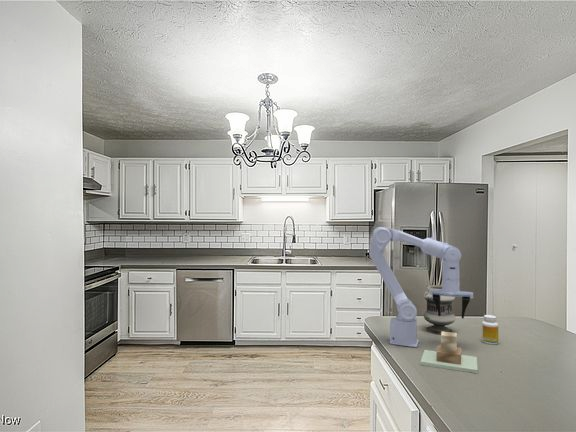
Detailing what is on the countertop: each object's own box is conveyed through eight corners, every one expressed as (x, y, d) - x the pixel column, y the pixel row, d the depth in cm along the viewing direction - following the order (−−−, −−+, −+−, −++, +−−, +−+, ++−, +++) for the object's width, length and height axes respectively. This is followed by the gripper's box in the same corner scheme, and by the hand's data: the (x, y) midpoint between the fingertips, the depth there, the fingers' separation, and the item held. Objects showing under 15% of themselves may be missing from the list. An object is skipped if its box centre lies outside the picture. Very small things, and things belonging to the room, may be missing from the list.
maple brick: (441, 350, 121) (440, 335, 121) (441, 346, 125) (441, 331, 125) (456, 353, 119) (456, 336, 119) (456, 348, 123) (456, 333, 123)
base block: (436, 361, 120) (436, 351, 120) (438, 354, 126) (438, 345, 126) (461, 364, 117) (460, 354, 117) (461, 357, 123) (461, 347, 123)
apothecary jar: (420, 332, 154) (420, 287, 155) (427, 325, 165) (427, 283, 165) (452, 337, 148) (452, 290, 148) (457, 329, 158) (457, 286, 158)
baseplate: (420, 364, 120) (420, 361, 120) (424, 352, 130) (424, 349, 130) (477, 373, 113) (477, 370, 113) (476, 359, 124) (476, 356, 124)
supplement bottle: (500, 345, 138) (500, 318, 138) (484, 344, 139) (484, 317, 139) (495, 340, 144) (495, 314, 144) (480, 339, 145) (480, 314, 145)
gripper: (428, 279, 138) (428, 317, 137) (473, 282, 131) (473, 321, 131) (430, 276, 144) (430, 312, 144) (472, 279, 138) (473, 316, 138)
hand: (451, 316), depth 138 cm, fingers open, 7 cm apart
